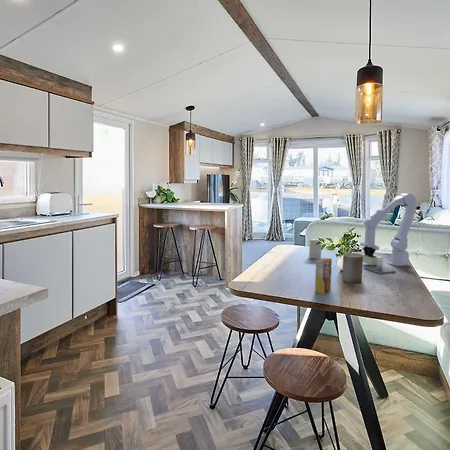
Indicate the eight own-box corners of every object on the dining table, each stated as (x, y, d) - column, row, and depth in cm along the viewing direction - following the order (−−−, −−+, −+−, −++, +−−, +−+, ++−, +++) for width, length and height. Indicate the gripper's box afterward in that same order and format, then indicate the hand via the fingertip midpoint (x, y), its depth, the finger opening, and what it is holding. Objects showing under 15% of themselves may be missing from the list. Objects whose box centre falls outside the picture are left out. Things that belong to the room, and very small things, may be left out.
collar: (372, 260, 228) (373, 254, 227) (382, 264, 220) (382, 257, 219) (362, 261, 225) (362, 255, 224) (371, 265, 217) (371, 258, 217)
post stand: (380, 267, 217) (381, 256, 216) (395, 272, 206) (396, 261, 205) (363, 268, 213) (364, 258, 213) (378, 274, 202) (379, 262, 201)
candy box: (322, 288, 175) (324, 257, 173) (331, 290, 173) (332, 258, 171) (314, 292, 169) (315, 260, 167) (322, 294, 166) (324, 262, 164)
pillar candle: (361, 279, 192) (362, 251, 190) (361, 284, 183) (363, 254, 181) (342, 277, 195) (343, 250, 193) (341, 282, 186) (342, 253, 184)
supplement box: (320, 259, 236) (321, 240, 234) (309, 259, 238) (310, 239, 236) (320, 257, 243) (321, 238, 242) (308, 256, 245) (309, 238, 243)
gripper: (356, 235, 229) (355, 257, 231) (373, 239, 215) (371, 262, 217) (365, 235, 231) (364, 256, 233) (382, 239, 218) (381, 261, 220)
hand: (368, 259), depth 225 cm, fingers closed on collar
